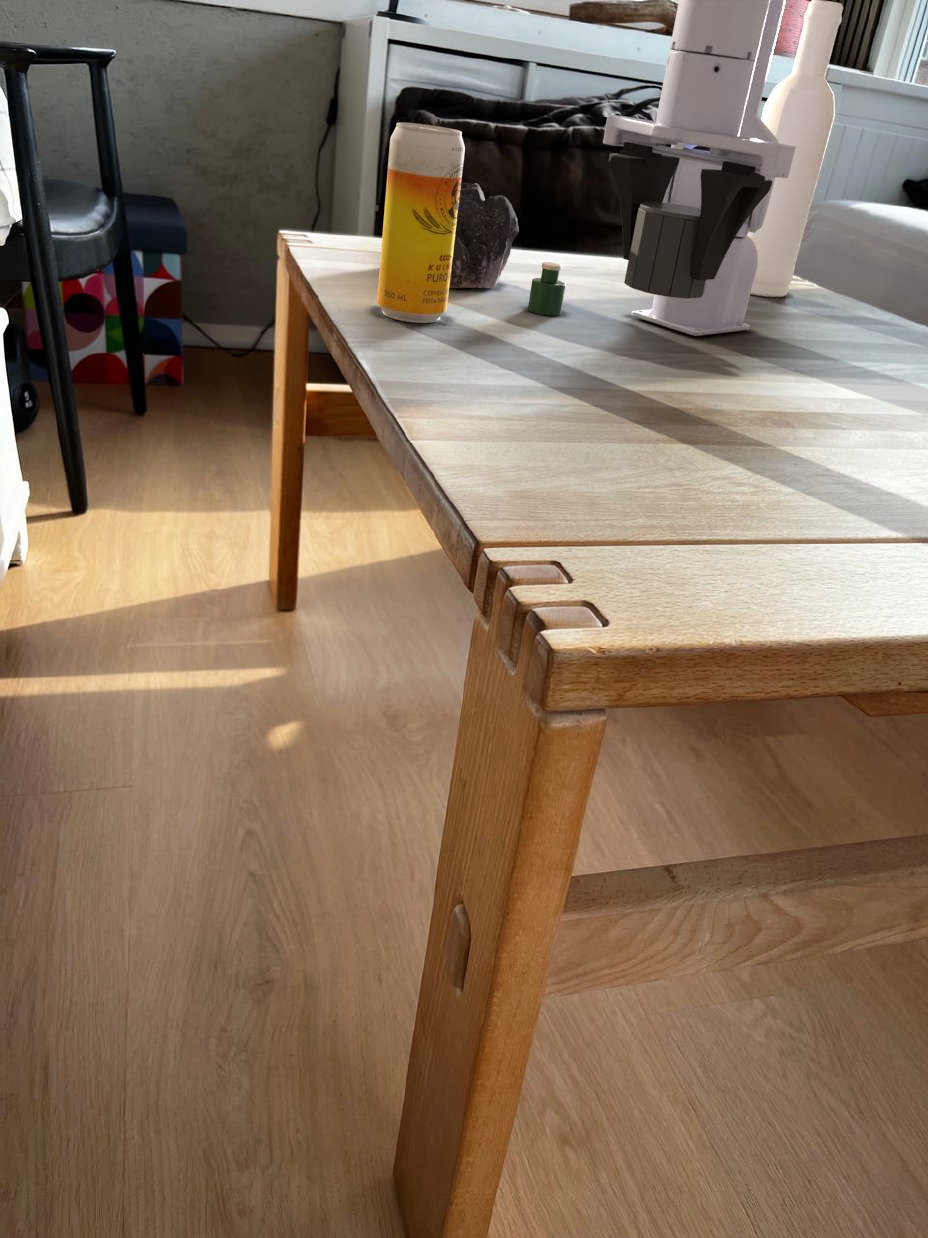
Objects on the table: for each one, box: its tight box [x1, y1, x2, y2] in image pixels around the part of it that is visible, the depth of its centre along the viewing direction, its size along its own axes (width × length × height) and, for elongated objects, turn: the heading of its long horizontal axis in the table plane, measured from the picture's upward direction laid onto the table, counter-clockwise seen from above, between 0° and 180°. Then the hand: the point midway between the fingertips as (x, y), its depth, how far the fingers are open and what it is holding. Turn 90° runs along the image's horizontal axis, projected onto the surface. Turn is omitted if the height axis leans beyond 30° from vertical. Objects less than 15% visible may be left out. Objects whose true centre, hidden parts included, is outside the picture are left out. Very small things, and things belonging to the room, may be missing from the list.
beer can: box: [376, 122, 466, 324], centre depth 86 cm, size 6×6×15 cm
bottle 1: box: [527, 261, 567, 317], centre depth 97 cm, size 3×3×4 cm
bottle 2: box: [747, 0, 844, 298], centre depth 116 cm, size 8×8×30 cm
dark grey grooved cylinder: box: [623, 202, 707, 299], centre depth 74 cm, size 6×6×6 cm
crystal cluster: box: [449, 182, 520, 289], centre depth 104 cm, size 13×14×10 cm
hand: (667, 268), depth 74 cm, fingers closed on dark grey grooved cylinder, 5 cm apart
